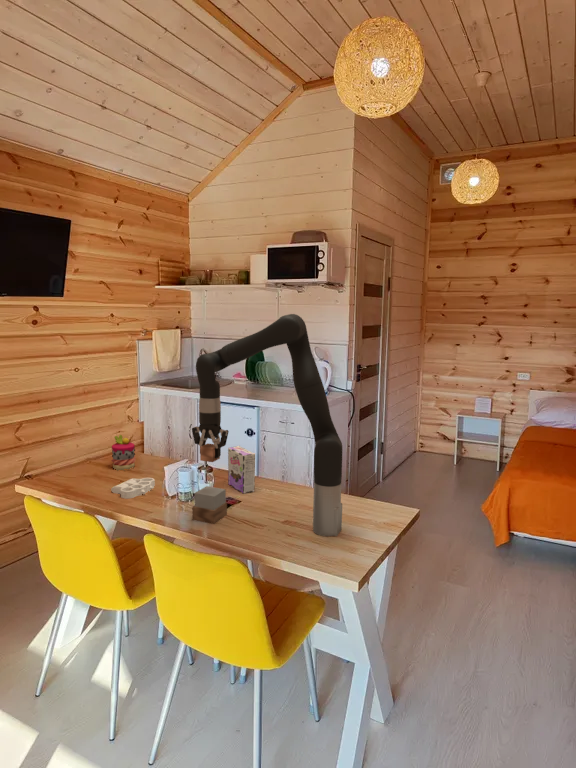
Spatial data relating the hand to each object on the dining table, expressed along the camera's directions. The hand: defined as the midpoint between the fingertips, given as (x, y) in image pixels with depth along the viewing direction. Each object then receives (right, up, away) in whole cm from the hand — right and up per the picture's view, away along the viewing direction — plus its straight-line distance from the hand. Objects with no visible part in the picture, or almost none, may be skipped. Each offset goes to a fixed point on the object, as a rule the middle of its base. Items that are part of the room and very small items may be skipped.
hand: (210, 456), depth 182 cm
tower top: (0, -18, +3) cm, 18 cm away
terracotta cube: (0, -1, 0) cm, 1 cm away
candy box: (+8, -18, +34) cm, 39 cm away
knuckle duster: (-35, -19, +29) cm, 49 cm away
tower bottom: (-1, -23, +3) cm, 23 cm away
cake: (-50, -14, +59) cm, 78 cm away
